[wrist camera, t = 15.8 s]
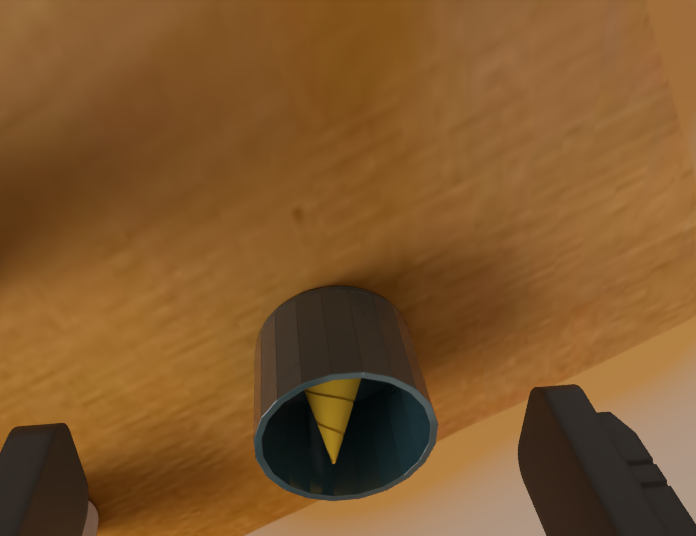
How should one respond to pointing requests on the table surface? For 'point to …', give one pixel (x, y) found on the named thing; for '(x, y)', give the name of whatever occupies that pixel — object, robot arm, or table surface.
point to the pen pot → (368, 408)
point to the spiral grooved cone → (333, 410)
